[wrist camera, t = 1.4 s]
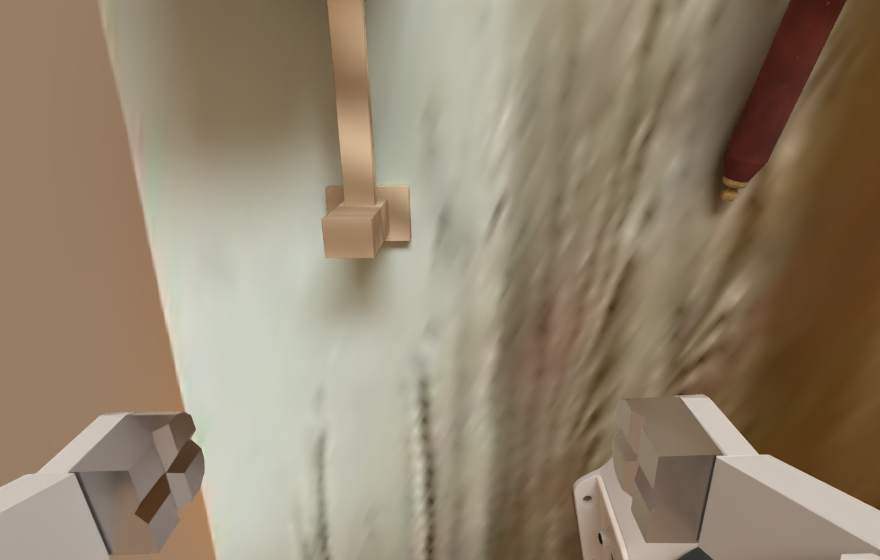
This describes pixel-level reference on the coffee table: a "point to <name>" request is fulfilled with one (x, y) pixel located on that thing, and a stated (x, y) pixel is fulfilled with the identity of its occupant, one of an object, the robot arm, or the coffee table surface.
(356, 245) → the hook tool
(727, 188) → the gavel
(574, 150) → the coffee table surface
